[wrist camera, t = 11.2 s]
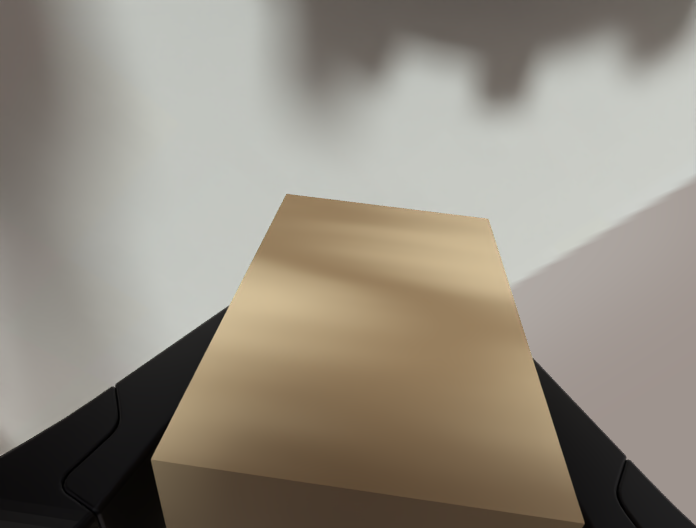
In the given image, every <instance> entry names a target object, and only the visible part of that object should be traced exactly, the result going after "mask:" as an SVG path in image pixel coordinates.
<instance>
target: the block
mask: <svg viewBox="0 0 696 528" xmlns="http://www.w3.org/2000/svg"><path fill="white" fill-rule="evenodd" d="M151 463H152V467H153V472H154V476H155V480H156V485H157V489H158V494H159V498H160V502H161V507H162V511H163V516H164V520H165V524H166V528H582V527H583V526H584V524H585V523H584V519H583V516H582V513H581V510H580V507H579V504H578V500H577V497H576V494H575V491H574V488H573V485H572V482H571V478H570V475H569V472H568V469H567V466H566V463H565V459H564V456H563V453H562V450H561V447H560V444H559V440H558V437H557V434H556V431H555V428H554V425H553V422H552V418H551V415H550V412H549V409H548V406H547V403H546V399H545V396H544V393H543V390H542V387H541V384H540V381H539V377H538V374H537V371H536V368H535V365H534V362H533V358H532V355H531V352H530V349H529V346H528V343H527V339H526V336H525V333H524V330H523V327H522V324H521V321H520V317H519V314H518V311H517V308H516V305H515V302H514V298H513V295H512V292H511V289H510V286H509V283H508V280H507V276H506V273H505V270H504V267H503V264H502V261H501V257H500V254H499V251H498V248H497V245H496V242H495V238H494V235H493V232H492V229H491V226H490V223H489V220H488V219H485V218H477V217H468V216H460V215H452V214H444V213H436V212H428V211H420V210H412V209H404V208H396V207H388V206H379V205H371V204H363V203H355V202H347V201H339V200H331V199H323V198H315V197H307V196H298V195H290V194H286V196H285V198H284V200H283V202H282V204H281V206H280V208H279V210H278V212H277V213H276V215H275V217H274V219H273V221H272V223H271V225H270V227H269V229H268V231H267V233H266V235H265V237H264V239H263V241H262V243H261V245H260V247H259V249H258V251H257V253H256V255H255V257H254V259H253V260H252V262H251V264H250V266H249V268H248V270H247V272H246V274H245V276H244V278H243V280H242V282H241V284H240V286H239V288H238V290H237V292H236V294H235V296H234V298H233V300H232V302H231V304H230V306H229V307H228V309H227V311H226V313H225V315H224V317H223V319H222V321H221V323H220V325H219V327H218V329H217V331H216V333H215V335H214V337H213V339H212V341H211V343H210V345H209V347H208V349H207V351H206V352H205V354H204V356H203V358H202V360H201V362H200V364H199V366H198V368H197V370H196V372H195V374H194V376H193V378H192V380H191V382H190V384H189V386H188V388H187V390H186V392H185V394H184V396H183V398H182V399H181V401H180V403H179V405H178V407H177V409H176V411H175V413H174V415H173V417H172V419H171V421H170V423H169V425H168V427H167V429H166V431H165V433H164V435H163V437H162V439H161V441H160V443H159V444H158V446H157V448H156V450H155V452H154V454H153V456H152V458H151Z"/></svg>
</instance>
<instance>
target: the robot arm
mask: <svg viewBox="0 0 696 528" xmlns="http://www.w3.org/2000/svg"><path fill="white" fill-rule="evenodd" d="M229 306H230V305H229ZM229 306H227V307H226V308H225V309H223V310H222V311H220V312H219V313H217V314H216V315H214V316H213V317H212V318H210V319H209V320H207V321H206V322H204V323H203V324H201V325H200V326H199V327H197V328H196V329H194V330H193V331H191V332H190V333H189V334H187V335H186V336H184V337H183V338H181V339H180V340H178V341H177V342H176V343H174V344H173V345H171V346H170V347H168V348H167V349H165V350H164V351H163V352H161V353H160V354H158V355H157V356H155V357H154V358H152V359H151V360H150V361H148V362H147V363H145V364H144V365H142V366H141V367H139V368H138V369H137V370H135V371H134V372H132V373H131V374H129V375H128V376H126V377H125V378H124V379H122V380H121V381H119V382H118V383H116V385H115V387H116V388H115V387H110V388H109V389H107V390H106V391H104V392H103V393H102V394H100V395H99V396H97V397H96V398H94V399H93V400H91V401H90V402H88V403H87V404H85V405H84V406H82V407H81V408H79V409H78V410H76V411H75V412H73V413H72V414H70V415H69V416H67V417H66V418H64V419H62V420H61V421H59V422H57V423H56V424H54V425H52V426H51V427H49V428H48V429H46V430H44V431H43V432H41V433H39V434H38V435H36V436H34V437H33V438H31V439H29V440H28V441H26V442H24V443H22V444H21V445H19V446H17V447H15V448H14V449H12V450H10V451H9V452H7V453H5V454H3V455H2V456H0V528H166V524H165V520H164V516H163V511H162V507H161V502H160V498H159V494H158V489H157V485H156V480H155V476H154V472H153V467H152V463H151V458H152V456H153V454H154V452H155V450H156V448H157V446H158V444H159V443H160V441H161V439H162V437H163V435H164V433H165V431H166V429H167V427H168V425H169V423H170V421H171V419H172V417H173V415H174V413H175V411H176V409H177V407H178V405H179V403H180V401H181V399H182V398H183V396H184V394H185V392H186V390H187V388H188V386H189V384H190V382H191V380H192V378H193V376H194V374H195V372H196V370H197V368H198V366H199V364H200V362H201V360H202V358H203V356H204V354H205V352H206V351H207V349H208V347H209V345H210V343H211V341H212V339H213V337H214V335H215V333H216V331H217V329H218V327H219V325H220V323H221V321H222V319H223V317H224V315H225V313H226V311H227V309H228V307H229ZM533 362H534V365H535V368H536V371H537V374H538V377H539V381H540V384H541V387H542V390H543V393H544V396H545V399H546V403H547V406H548V409H549V412H550V415H551V418H552V422H553V425H554V428H555V431H556V434H557V437H558V440H559V444H560V447H561V450H562V453H563V456H564V459H565V463H566V466H567V469H568V472H569V475H570V478H571V482H572V485H573V488H574V491H575V494H576V497H577V500H578V504H579V507H580V510H581V513H582V516H583V519H584V523H585V524H584V526H583V527H582V528H696V526H695V525H694V524H693V523H692V522H691V521H690V520H689V519H688V518H687V517H686V516H685V515H684V514H683V513H682V512H681V511H680V510H679V509H677V508H676V507H675V506H674V505H673V504H672V503H671V502H670V501H669V500H668V499H667V498H666V497H665V496H664V495H663V494H662V493H661V492H660V490H658V489H657V488H656V486H655V485H653V483H652V482H651V481H650V480H649V479H648V478H647V477H646V476H645V475H644V474H643V473H642V472H641V471H640V470H639V469H638V468H637V467H636V466H635V465H634V464H633V463H632V462H631V461H630V460H626V456H625V454H624V453H623V452H622V451H621V450H620V449H619V448H618V447H617V446H616V445H615V444H614V443H613V442H612V441H611V440H610V439H609V437H608V436H607V435H606V434H605V433H604V432H603V431H602V430H601V429H600V428H599V427H598V426H597V425H596V424H595V423H594V422H593V421H592V420H591V419H590V418H589V416H588V415H587V414H586V413H585V412H584V411H583V410H582V409H581V408H580V407H579V406H578V405H577V404H576V403H575V402H574V401H573V400H572V399H571V397H570V396H569V395H568V394H567V393H566V392H565V391H564V390H563V389H562V388H561V387H560V386H559V385H558V384H557V383H556V382H555V381H554V380H553V379H552V377H551V376H550V375H549V374H548V373H547V372H546V371H545V370H544V369H543V368H542V367H541V366H540V365H539V364H538V363H537V362H536V361H535V360H534V359H533Z"/></svg>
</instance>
